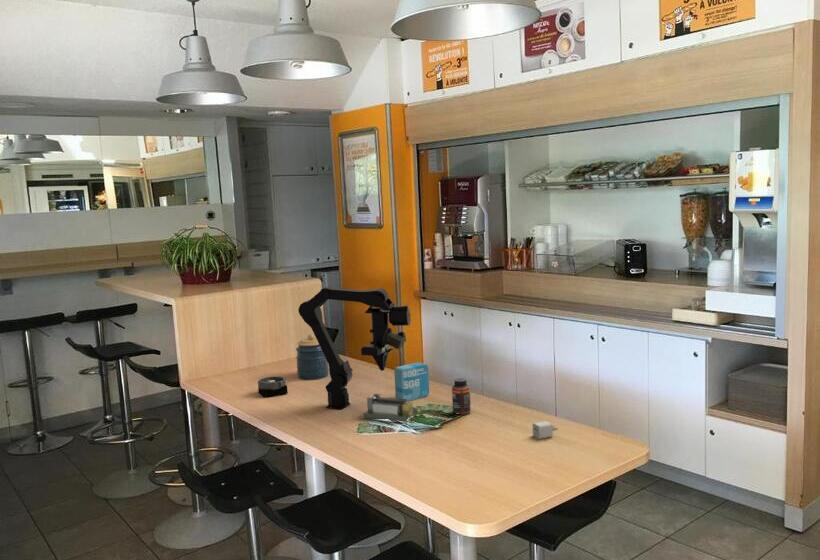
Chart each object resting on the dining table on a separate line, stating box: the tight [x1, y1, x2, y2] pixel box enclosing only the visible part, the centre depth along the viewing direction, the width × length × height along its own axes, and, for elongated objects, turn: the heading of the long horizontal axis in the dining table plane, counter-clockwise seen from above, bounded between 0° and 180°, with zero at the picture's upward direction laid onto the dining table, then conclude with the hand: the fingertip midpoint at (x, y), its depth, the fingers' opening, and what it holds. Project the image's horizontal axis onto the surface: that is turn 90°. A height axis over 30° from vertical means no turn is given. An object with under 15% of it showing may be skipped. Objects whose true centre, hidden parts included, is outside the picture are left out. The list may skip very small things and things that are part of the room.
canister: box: [295, 333, 330, 380], centre depth 292 cm, size 13×13×18 cm
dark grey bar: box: [371, 395, 408, 403], centre depth 235 cm, size 13×3×2 cm, turn 65°
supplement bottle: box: [451, 377, 472, 416], centre depth 236 cm, size 6×6×11 cm
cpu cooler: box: [257, 375, 288, 399], centre depth 269 cm, size 10×6×10 cm
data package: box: [394, 362, 430, 402], centre depth 255 cm, size 12×4×12 cm, turn 125°
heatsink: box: [362, 393, 418, 421], centre depth 235 cm, size 15×10×6 cm, turn 65°
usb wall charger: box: [532, 420, 559, 440], centre depth 211 cm, size 4×7×4 cm, turn 110°
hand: (382, 370), depth 245 cm, fingers closed
